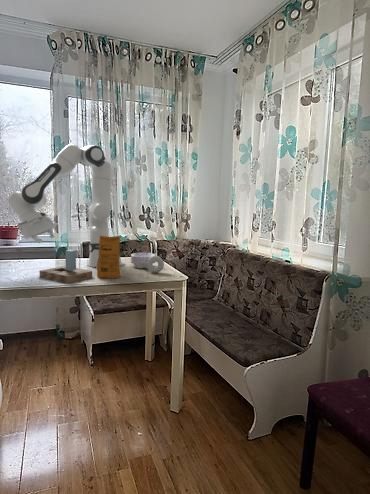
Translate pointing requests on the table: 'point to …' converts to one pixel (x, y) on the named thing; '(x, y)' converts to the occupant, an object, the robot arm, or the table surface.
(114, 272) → the coffee package
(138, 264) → the paper bowls
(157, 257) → the donut
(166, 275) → the table surface
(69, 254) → the keyhole peg
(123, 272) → the table surface
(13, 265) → the table surface
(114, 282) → the table surface
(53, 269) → the keyhole board
